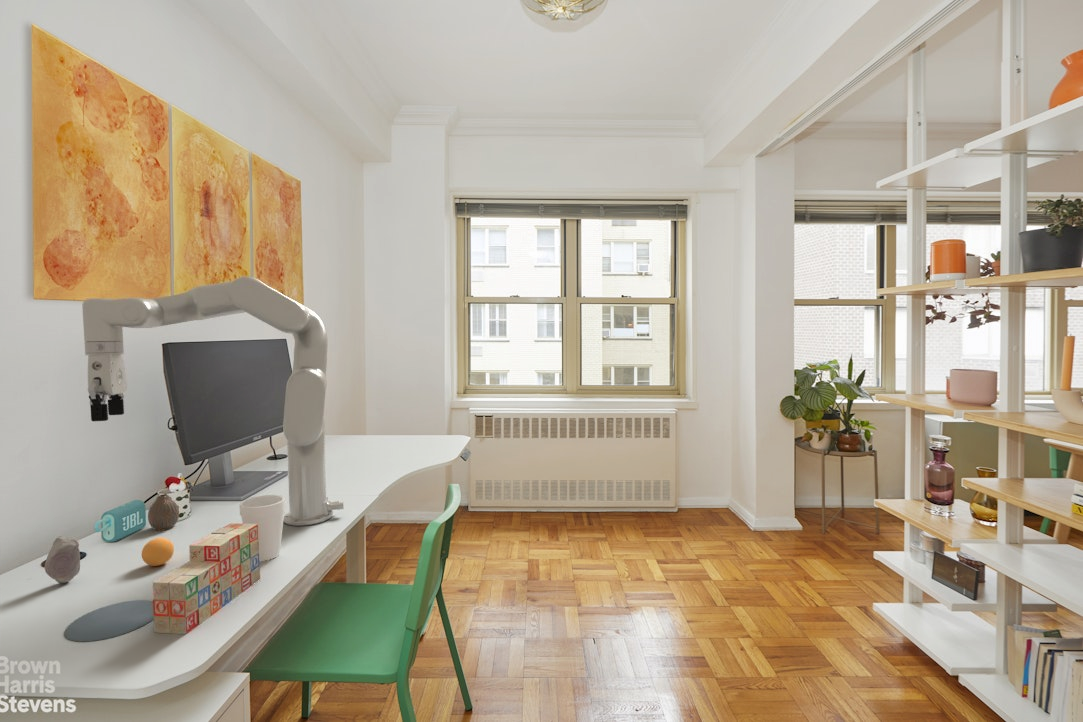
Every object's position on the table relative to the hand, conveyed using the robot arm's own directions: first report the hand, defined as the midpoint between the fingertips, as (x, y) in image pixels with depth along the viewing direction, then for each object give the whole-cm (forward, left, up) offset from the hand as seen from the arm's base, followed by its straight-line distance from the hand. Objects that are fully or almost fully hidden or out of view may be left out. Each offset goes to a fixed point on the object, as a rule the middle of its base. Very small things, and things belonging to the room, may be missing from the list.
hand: (108, 417), depth 138 cm
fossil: (+1, +25, -31) cm, 40 cm away
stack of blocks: (-30, +45, -32) cm, 63 cm away
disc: (-15, +46, -31) cm, 57 cm away
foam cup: (-37, +24, -31) cm, 54 cm away
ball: (-15, +21, -28) cm, 38 cm away
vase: (-9, -6, -31) cm, 33 cm away
